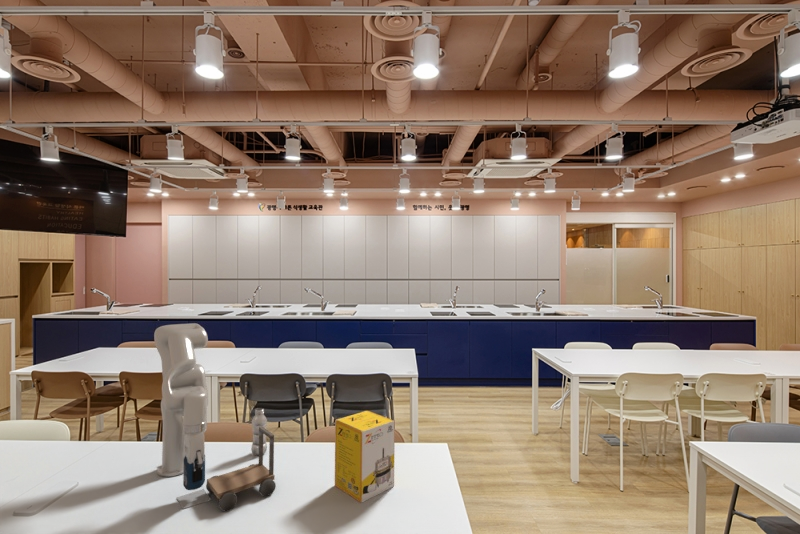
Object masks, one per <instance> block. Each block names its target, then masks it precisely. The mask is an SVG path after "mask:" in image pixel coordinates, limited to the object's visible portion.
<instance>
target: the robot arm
mask: <svg viewBox="0 0 800 534" xmlns="http://www.w3.org/2000/svg"><path fill="white" fill-rule="evenodd" d="M153 337H154V345H155V348H156V350H157V352H158V354H159V356H160V360H161V371H162V372H161V374H162V384H161V395H162V398H161V400H160V410H161V411H160V412H161V417H162V451H161V452H162V453H161V456H162V459H161V460H162V461H161V462H162V463H161V466H159V467H158V468H157V475H159V476H160V477H164V478H165V477H169V478H170V477H175V476H180V475H182V474H183V475H184V458H185V456H186V457H187V462H188V463H189V464H192V463H193V471H192V482H193V483H195V482H198V481H201V480H202V464H203V460H204V454H205V455H206V453H205V452H206V451H205V446H206V445H205V432H206V431H207V427H208V426H207V424H208V423H207V422H208V421H207V420H208V418H207V417H208V405H209V396H208V386H207V379H206V372H205V368H204V367H203V366H202V365H201V364H199V363H197V358H196V355H195V350H199V349H200V350H201V349H204V348H205V347H207V345H208V342H209V338H208V333H207V331H206V330H205V328H204V327H203V326H201V325H200V324H198V323H195V322H194V323H177V324H166V325H161V326H159V327H157V328H155V331H154V334H153ZM201 456H202V457H203V458H202V457H201ZM195 459H197V461H195ZM194 461H195V462H194ZM195 463H197V465H196V467H195Z"/></svg>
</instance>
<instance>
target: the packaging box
mask: <svg viewBox="0 0 800 534" xmlns="http://www.w3.org/2000/svg"><path fill="white" fill-rule="evenodd" d="M334 421H335V424H334V426H335V427H334V435H335V437H334V486H335V488H336V487H337V488H338V489H340V490H341V491H343V492H344V493H346V494H347V495H349V496H351V498H354V499H355V500H356V501H358V502H360V503H363V502H365V501H367V500H369V499H372V498H374V497H375V496H378V495H379V494H381V493H384V492H386V491H387V490H390V489H391V488H394V486H395V433H396V432H395V431H396V430H395V426H396V425H395V424H396V423H395V420H393V419H391V418H389V417H386V416H384V415H380V414H378V413H375V412H372V411H370V410H364V411H361V412H358V413H354V414H352V415H351V414H350V415H348V416H344V417H342V418H341V417H340V418H337V419H335V420H334Z"/></svg>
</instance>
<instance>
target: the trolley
mask: <svg viewBox="0 0 800 534" xmlns="http://www.w3.org/2000/svg"><path fill="white" fill-rule="evenodd" d="M263 434H265V436H266V437H267V438H269V441H268V442H269V443H268V444H269V447H268V449H269V451H268V452H269V455H268V456H269V457H268V463H269V464H268V467H269V468H267V467H266V466H265V465H264V463H263V462H264V454H263ZM274 449H275V434H274V433H272V432H271V431H269V430H268V429H267V428H266V429H265V428H264V427H259V455H258V463H256V464H255V463H254V464H250V465H248V466H246V467H243V468H239V469H236V470H232V471H230V472H226V473H223V474H220V475H213V476H212V477H210V478H207V479H206V485H205V488H206V490H207V492H208V493H210V494H214V496H215V497H216V498H217V499H219V500H218V507H219V508H220V510H222V511H223V512H228V511H231V510H232V509H233V508H235V505H236V504H237V502H238V497H237V495H236V493H239V492H243V491H245V490H247V489H250V488H253V487H256V486H259V487H258V491H259V493H260V495H261V496H263V497H269V496H271V495H272V494H274V493H275V492H274V491H275V490H276V488H277V487H276V482H275V474H274V471H275V470H274V466H275V465H274V462H275V459H274V458H275V457H274V455H275V453H274V452H275V450H274Z"/></svg>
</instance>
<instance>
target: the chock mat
mask: <svg viewBox="0 0 800 534" xmlns="http://www.w3.org/2000/svg"><path fill="white" fill-rule="evenodd" d="M176 499H177V500H176V501H178V503H179V505H180V507H181V509H182V510H185V509H188V508H190V507H191V508H192V507H194V506H198V505H199V504H200V505H201V504H202V503H205V501H206V502H208V500H209V501H211V500H212V499H211V497H210V496H209V494H208V493H207V491H206V490H205V489H204V488H202V489H199V490H196V491H195V490H194V492H190V493H186V494H184V495H180V496H177V497H176Z"/></svg>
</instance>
